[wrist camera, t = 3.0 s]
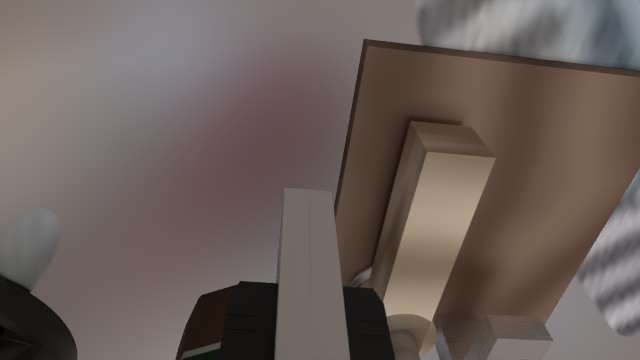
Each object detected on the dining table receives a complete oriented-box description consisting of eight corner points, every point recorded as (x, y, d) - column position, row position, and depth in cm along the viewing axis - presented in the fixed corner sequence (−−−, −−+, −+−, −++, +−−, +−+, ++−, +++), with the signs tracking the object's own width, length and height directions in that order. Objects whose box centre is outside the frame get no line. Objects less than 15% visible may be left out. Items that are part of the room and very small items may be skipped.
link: (413, 323, 28) (436, 404, 24) (347, 321, 28) (358, 403, 23) (484, 128, 21) (539, 191, 16) (396, 119, 20) (425, 182, 16)
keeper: (338, 327, 29) (347, 412, 24) (355, 251, 26) (369, 333, 21) (471, 332, 30) (506, 414, 25) (505, 260, 27) (553, 340, 22)
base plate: (315, 314, 30) (316, 328, 29) (363, 38, 20) (367, 46, 19) (529, 323, 32) (537, 336, 31) (672, 75, 22) (691, 83, 21)
